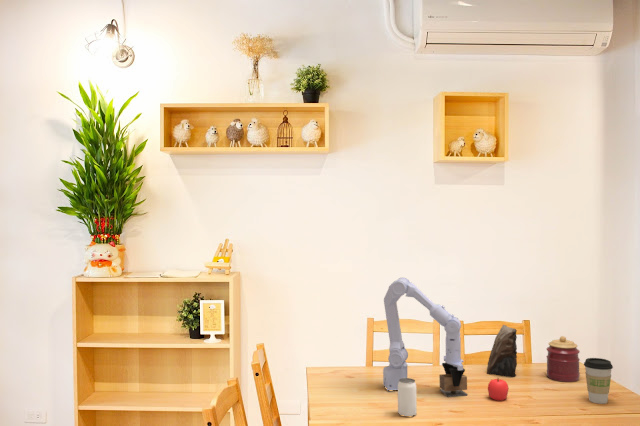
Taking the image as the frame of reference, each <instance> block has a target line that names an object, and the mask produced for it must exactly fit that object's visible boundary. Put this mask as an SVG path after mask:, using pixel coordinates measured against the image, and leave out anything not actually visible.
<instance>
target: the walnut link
mask: <svg viewBox="0 0 640 426" xmlns="http://www.w3.org/2000/svg"><path fill="white" fill-rule="evenodd" d="M438 377H439V389H443V390H444V391H457V390H463V391H467V390H468V377H467V376H466V375H465V374H463V375H462V377H461V381H460V385H459V386H456V387H454V385H453V379H452V374H446V373H444V374H443V373H442V374H439V376H438Z"/></svg>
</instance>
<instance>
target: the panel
mask: <svg viewBox="0 0 640 426" xmlns="http://www.w3.org/2000/svg"><path fill="white" fill-rule="evenodd" d="M439 391H440V392H441V393H443V395H445V396H446V397H447V398H451V397H452V398H454V397H466V396H468V393H467V392H465V390H457V391H444V390H443V389H441V388H439Z"/></svg>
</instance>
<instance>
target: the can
mask: <svg viewBox="0 0 640 426" xmlns="http://www.w3.org/2000/svg"><path fill="white" fill-rule="evenodd" d="M398 413H399V414H400V415H404V416H413V415H415V416H417V383H416V380H415V379H414V378H412V377H411V378H410V377H407V378H402V379H399V383H398V391H397V414H398ZM399 414H398V415H399ZM400 415H399V416H400ZM413 417H414V416H413Z"/></svg>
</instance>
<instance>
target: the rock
mask: <svg viewBox="0 0 640 426" xmlns="http://www.w3.org/2000/svg"><path fill="white" fill-rule="evenodd" d="M517 331H518V330H517V329H516V328H513V327H510V326H507V325H506V324H502V325H501V328H500V329H499V331H498V333H497V335H496V336H495V339H494V342H493V345H492V347H491V348H492V349H491V351H490V354H489V357H488V362H487V367H486V375H493V376H500V377H506V378H515V377H516V376H517V374H516V370H517V367H518V366H517V365H518V362H517V358H518V355H517V353H518V352H517V349H518V348H517V339H518V337H517Z"/></svg>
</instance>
